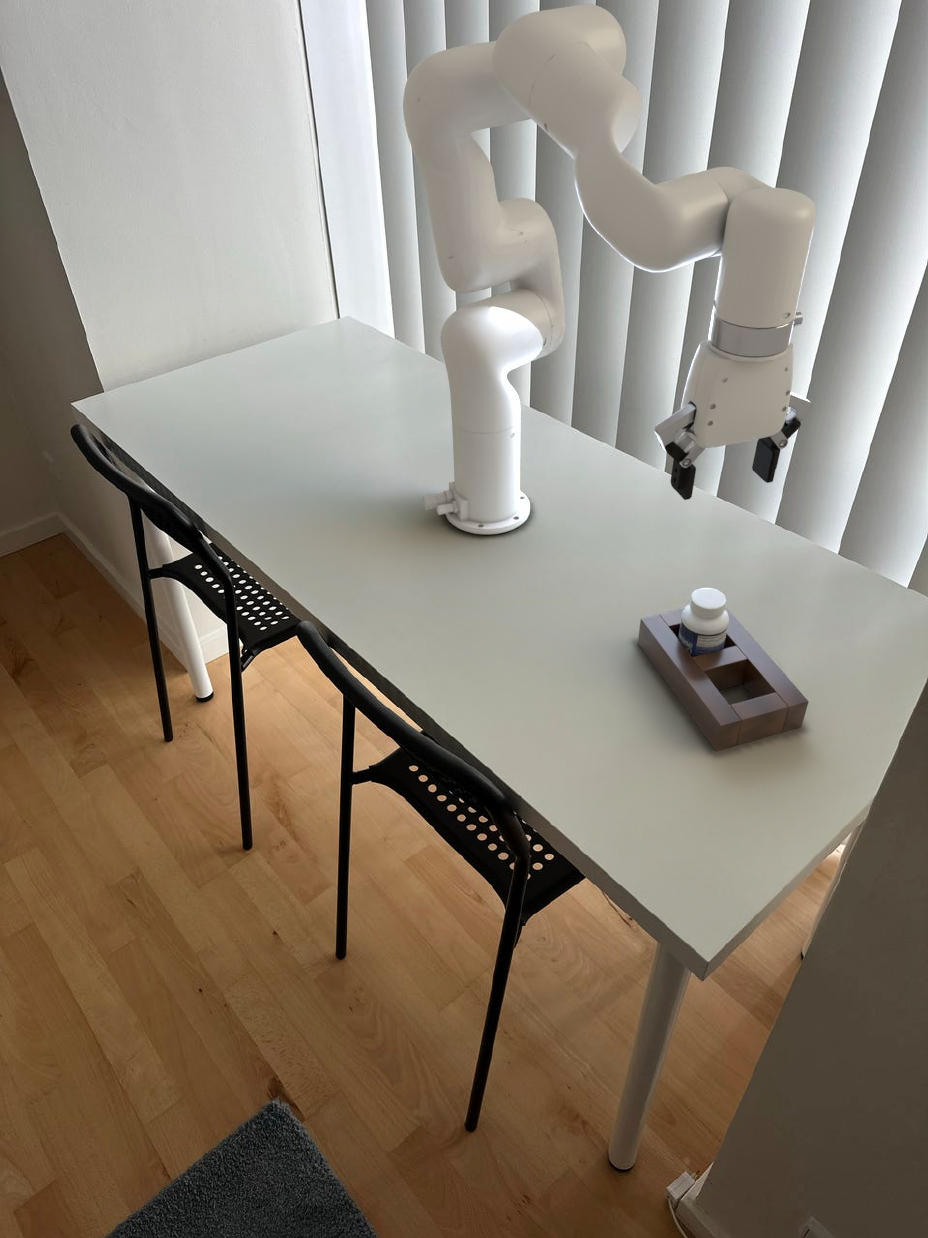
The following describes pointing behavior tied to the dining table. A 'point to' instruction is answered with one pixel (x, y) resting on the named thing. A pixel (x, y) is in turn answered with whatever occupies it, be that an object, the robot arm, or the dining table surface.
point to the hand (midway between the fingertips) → (722, 484)
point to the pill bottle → (704, 622)
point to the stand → (724, 682)
